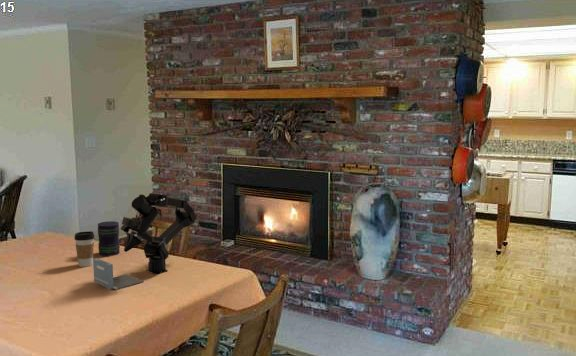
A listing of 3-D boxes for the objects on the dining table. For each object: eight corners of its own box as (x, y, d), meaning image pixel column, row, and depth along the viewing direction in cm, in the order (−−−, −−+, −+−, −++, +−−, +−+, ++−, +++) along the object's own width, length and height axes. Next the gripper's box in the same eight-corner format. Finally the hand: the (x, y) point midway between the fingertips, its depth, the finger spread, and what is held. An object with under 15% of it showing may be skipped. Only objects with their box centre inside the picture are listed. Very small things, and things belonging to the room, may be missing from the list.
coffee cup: (88, 268, 225) (87, 235, 223) (71, 266, 227) (70, 234, 225) (99, 262, 233) (98, 230, 231) (82, 261, 235) (81, 229, 233)
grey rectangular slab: (97, 281, 205) (96, 258, 204) (113, 287, 198) (112, 264, 197) (93, 282, 204) (92, 259, 203) (109, 289, 196) (108, 265, 195)
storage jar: (104, 250, 254) (103, 220, 252) (123, 251, 253) (122, 221, 251) (94, 255, 244) (93, 225, 242) (113, 256, 243) (112, 226, 241)
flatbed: (126, 275, 216) (126, 273, 216) (143, 282, 208) (143, 280, 208) (97, 282, 206) (97, 281, 206) (115, 290, 198) (115, 288, 198)
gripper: (122, 206, 216) (100, 237, 210) (143, 212, 202) (120, 245, 197) (141, 219, 222) (120, 250, 217) (163, 227, 209) (141, 259, 203)
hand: (124, 251), depth 208 cm, fingers closed
